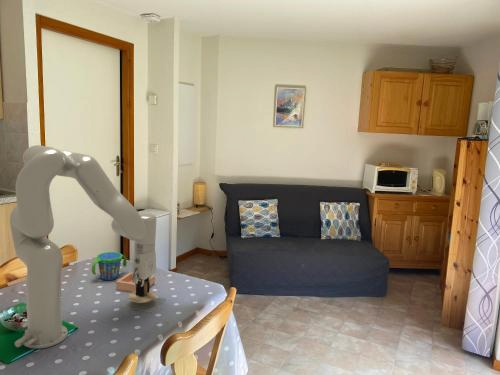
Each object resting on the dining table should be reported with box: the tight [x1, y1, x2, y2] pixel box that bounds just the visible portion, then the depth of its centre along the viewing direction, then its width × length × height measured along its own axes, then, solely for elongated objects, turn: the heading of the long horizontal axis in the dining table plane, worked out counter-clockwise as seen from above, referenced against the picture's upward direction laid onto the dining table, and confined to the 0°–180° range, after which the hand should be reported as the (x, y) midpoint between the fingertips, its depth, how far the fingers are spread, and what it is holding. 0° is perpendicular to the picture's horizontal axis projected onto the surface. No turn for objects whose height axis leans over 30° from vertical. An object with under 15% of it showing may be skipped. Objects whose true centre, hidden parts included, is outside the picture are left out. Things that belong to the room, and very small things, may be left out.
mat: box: [122, 296, 167, 314], centre depth 145 cm, size 12×12×1 cm
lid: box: [128, 281, 157, 303], centre depth 143 cm, size 10×10×6 cm
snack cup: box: [91, 251, 128, 281], centre depth 167 cm, size 16×10×10 cm
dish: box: [115, 271, 156, 294], centre depth 158 cm, size 11×11×4 cm
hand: (142, 293), depth 143 cm, fingers closed on lid, 3 cm apart
